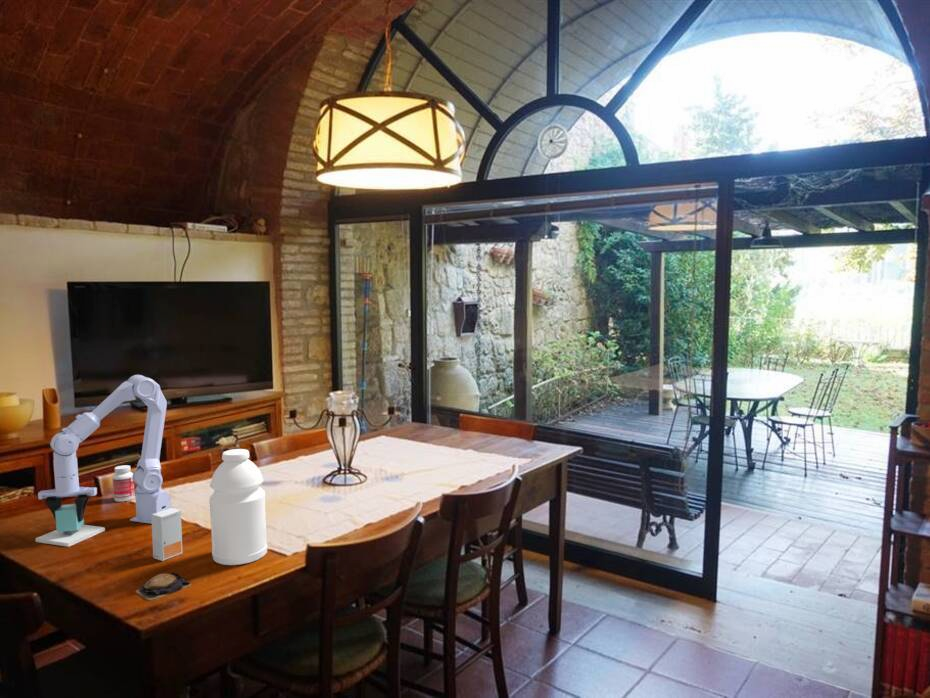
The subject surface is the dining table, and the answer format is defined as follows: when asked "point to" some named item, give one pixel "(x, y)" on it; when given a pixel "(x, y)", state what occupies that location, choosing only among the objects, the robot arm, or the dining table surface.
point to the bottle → (237, 510)
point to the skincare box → (166, 534)
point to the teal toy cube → (67, 518)
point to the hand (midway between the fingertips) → (69, 521)
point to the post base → (70, 536)
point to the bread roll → (162, 586)
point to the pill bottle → (123, 484)
